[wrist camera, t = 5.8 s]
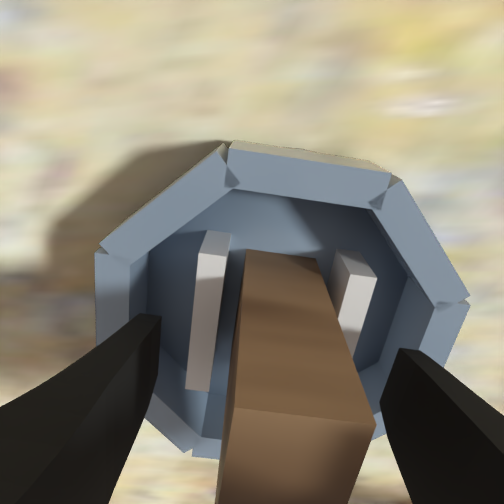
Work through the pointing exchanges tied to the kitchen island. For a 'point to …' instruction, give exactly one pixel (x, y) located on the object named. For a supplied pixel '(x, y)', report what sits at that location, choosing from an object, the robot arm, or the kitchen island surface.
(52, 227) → the kitchen island surface
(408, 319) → the blue-grey octagonal tray
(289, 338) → the wooden rectangular block
